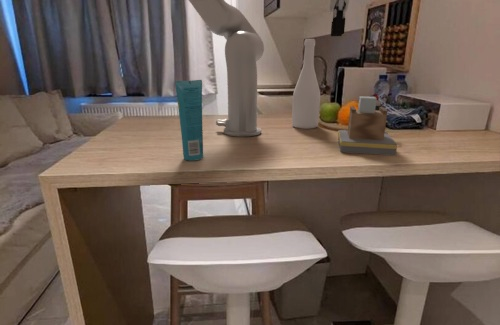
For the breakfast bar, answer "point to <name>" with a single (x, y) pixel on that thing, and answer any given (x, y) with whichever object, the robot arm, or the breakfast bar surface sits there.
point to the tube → (190, 118)
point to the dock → (366, 144)
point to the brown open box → (367, 124)
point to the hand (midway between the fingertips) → (336, 35)
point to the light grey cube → (367, 104)
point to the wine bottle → (306, 92)
